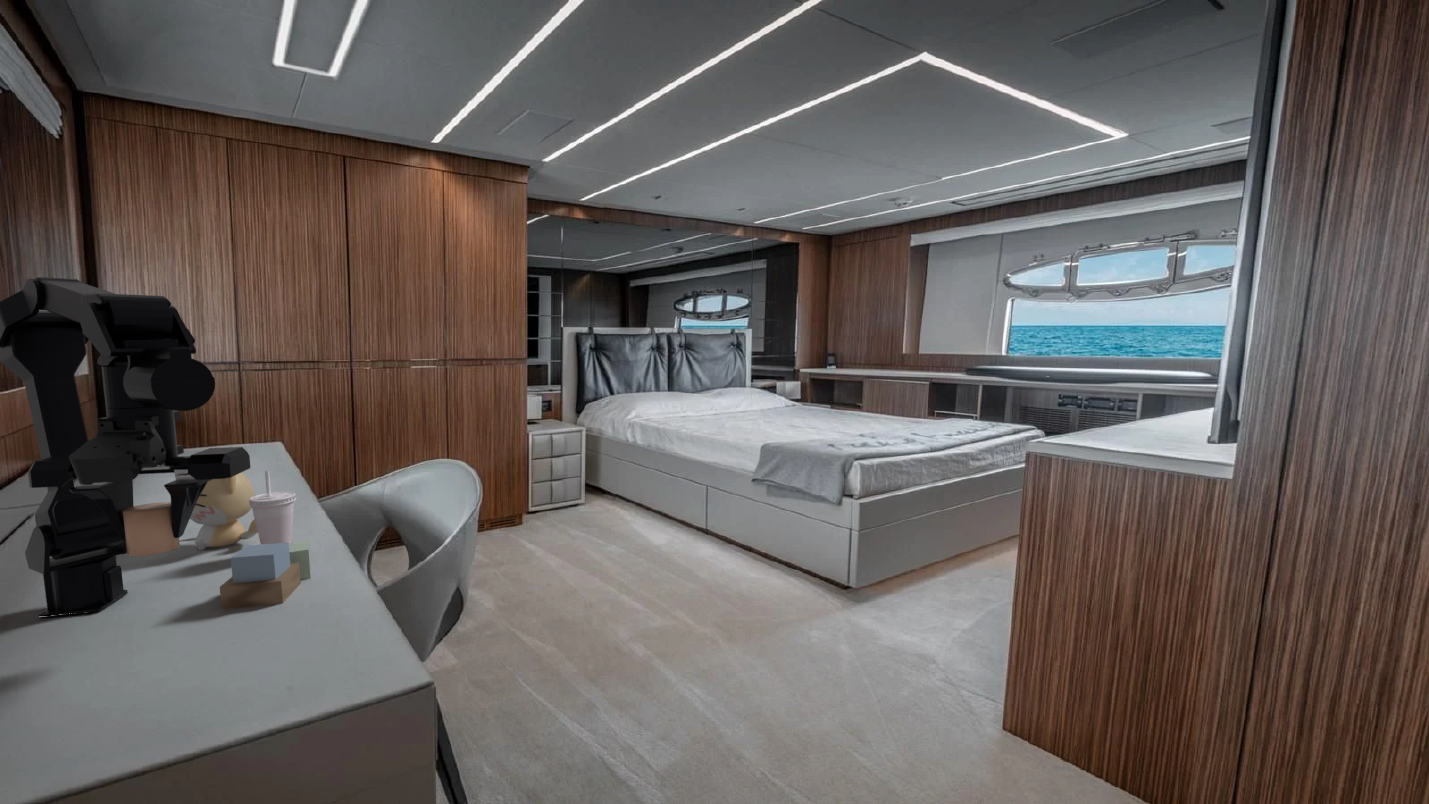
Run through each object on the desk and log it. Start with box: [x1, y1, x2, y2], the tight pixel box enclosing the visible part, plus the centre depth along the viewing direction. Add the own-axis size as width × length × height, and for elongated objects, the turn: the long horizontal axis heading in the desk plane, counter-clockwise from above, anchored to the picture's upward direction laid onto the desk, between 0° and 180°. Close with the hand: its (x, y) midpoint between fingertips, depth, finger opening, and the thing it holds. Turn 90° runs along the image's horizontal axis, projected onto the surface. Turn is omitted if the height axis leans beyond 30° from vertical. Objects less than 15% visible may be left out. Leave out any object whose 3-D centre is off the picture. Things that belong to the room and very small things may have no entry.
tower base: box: [219, 563, 301, 611], centre depth 87 cm, size 7×7×4 cm
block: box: [289, 540, 312, 581], centre depth 94 cm, size 4×4×4 cm
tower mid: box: [230, 542, 290, 583], centre depth 87 cm, size 5×5×4 cm
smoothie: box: [249, 470, 297, 545], centre depth 104 cm, size 6×6×14 cm
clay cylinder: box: [123, 501, 180, 557], centre depth 74 cm, size 5×5×5 cm
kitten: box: [189, 472, 258, 551], centre depth 108 cm, size 15×10×15 cm, turn 50°
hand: (153, 538), depth 74 cm, fingers closed on clay cylinder, 5 cm apart
